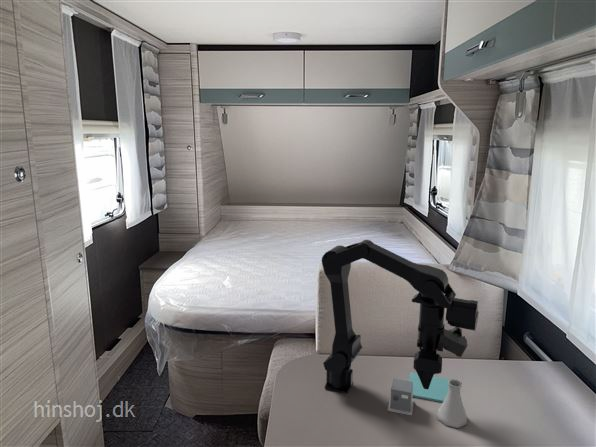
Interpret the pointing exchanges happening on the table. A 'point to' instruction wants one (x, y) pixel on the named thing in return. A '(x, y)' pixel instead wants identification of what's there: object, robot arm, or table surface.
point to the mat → (430, 388)
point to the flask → (453, 407)
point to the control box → (401, 397)
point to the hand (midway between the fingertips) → (426, 378)
